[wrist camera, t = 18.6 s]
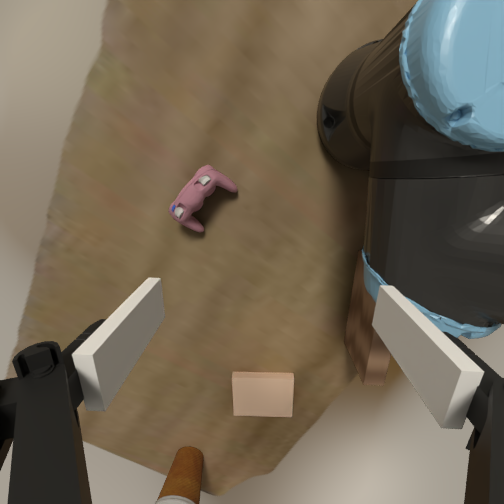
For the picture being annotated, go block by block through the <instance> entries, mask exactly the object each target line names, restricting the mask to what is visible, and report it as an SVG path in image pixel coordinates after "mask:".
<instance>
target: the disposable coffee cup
mask: <svg viewBox="0 0 504 504" xmlns="http://www.w3.org/2000/svg"><path fill="white" fill-rule="evenodd" d="M202 467H203V454H202V452H201V451H200V450H198V449H196V448H193V447H183V448H181V449H179V450H178V452H177V454H176V457H175V459H174V461H173V464H172V466H171V469H170V471H169V473H168V476H167V478H166V480H165V483H164V485H163V488H162V490H161V492H160V495H159V497H158V499H157V501H156V502H155V504H199V501H200V490H201V479H202Z"/></svg>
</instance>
